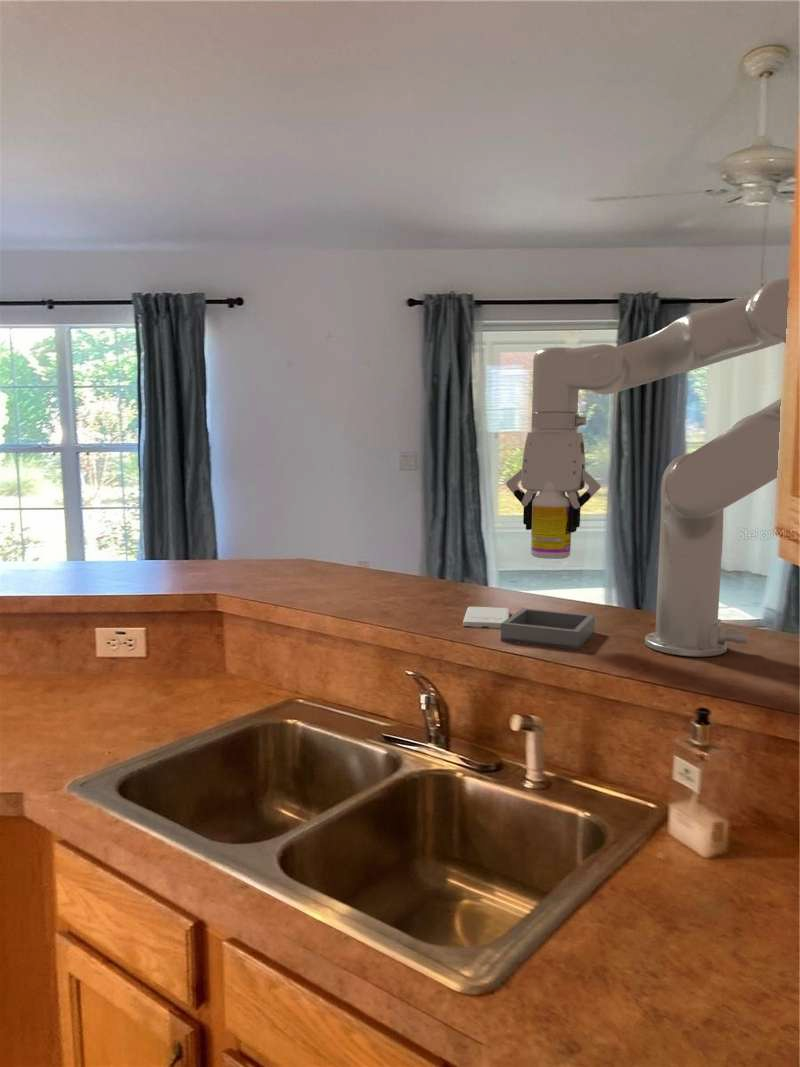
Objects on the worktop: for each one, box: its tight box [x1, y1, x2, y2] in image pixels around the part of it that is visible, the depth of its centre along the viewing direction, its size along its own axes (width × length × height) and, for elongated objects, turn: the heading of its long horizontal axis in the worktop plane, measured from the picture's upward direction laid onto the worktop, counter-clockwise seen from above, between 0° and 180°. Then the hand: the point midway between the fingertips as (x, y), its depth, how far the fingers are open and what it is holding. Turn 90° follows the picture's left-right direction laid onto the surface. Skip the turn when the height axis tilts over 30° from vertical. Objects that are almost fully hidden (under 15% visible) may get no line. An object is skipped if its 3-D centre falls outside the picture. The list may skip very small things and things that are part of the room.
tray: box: [500, 607, 596, 651], centre depth 135 cm, size 13×13×3 cm
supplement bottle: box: [530, 482, 572, 560], centre depth 132 cm, size 7×7×13 cm
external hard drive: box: [462, 606, 510, 629], centre depth 147 cm, size 2×8×12 cm
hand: (551, 529), depth 132 cm, fingers closed on supplement bottle, 6 cm apart
